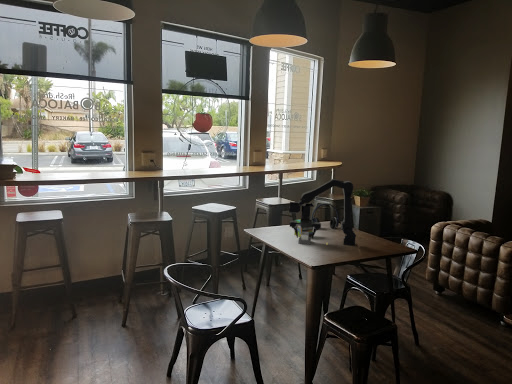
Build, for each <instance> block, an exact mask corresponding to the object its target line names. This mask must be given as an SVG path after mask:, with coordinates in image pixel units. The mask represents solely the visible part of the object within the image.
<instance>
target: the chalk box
mask: <svg viewBox="0 0 512 384" xmlns="http://www.w3.org/2000/svg"><path fill="white" fill-rule="evenodd" d="M300 220H301V218H300V219H295V220H294V221H297V223H300ZM312 223H313V221H312ZM297 228H298V238H299V237H301V233H302V232H309V234H308V237H311V238H312V235H313V229H314V227H311V226H309V228H301V226H297ZM294 236H296V233H295V232H294Z"/></svg>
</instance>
